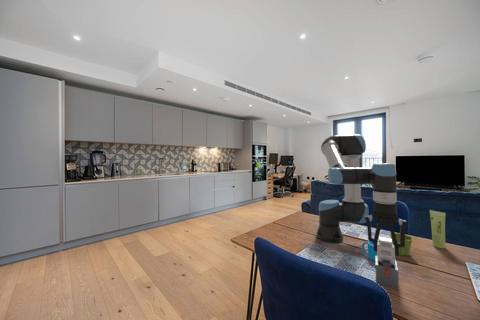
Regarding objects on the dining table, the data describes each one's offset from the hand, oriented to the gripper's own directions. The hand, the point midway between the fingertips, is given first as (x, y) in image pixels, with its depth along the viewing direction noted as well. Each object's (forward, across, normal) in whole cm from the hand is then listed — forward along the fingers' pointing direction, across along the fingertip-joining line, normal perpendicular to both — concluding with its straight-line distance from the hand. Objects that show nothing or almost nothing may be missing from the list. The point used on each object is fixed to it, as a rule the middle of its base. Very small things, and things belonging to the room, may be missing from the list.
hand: (386, 261), depth 76 cm
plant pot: (+9, +8, +34) cm, 36 cm away
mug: (+9, -4, +20) cm, 22 cm away
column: (+7, 0, 0) cm, 7 cm away
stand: (+9, 0, 0) cm, 9 cm away
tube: (+9, +25, +55) cm, 61 cm away
